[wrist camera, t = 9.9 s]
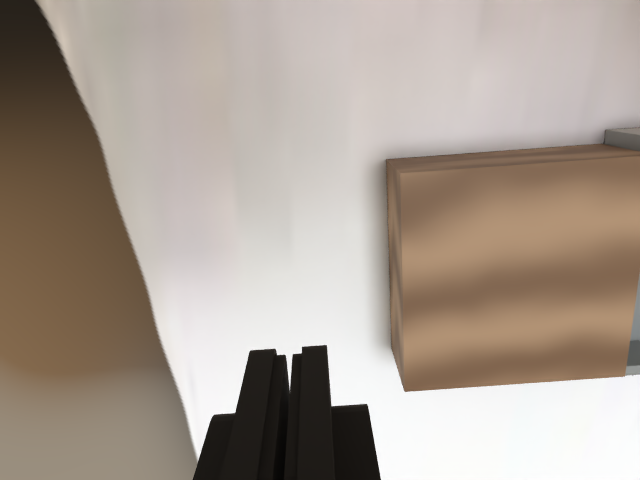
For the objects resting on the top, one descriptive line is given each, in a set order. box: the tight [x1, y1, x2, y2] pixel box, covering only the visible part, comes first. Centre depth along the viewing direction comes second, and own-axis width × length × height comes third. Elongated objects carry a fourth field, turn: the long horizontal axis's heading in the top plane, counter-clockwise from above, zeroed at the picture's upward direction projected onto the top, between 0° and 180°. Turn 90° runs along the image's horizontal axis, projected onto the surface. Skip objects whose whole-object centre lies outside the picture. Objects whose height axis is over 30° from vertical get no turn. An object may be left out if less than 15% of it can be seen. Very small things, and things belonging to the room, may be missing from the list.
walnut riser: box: [386, 144, 640, 392], centre depth 36 cm, size 16×16×6 cm
